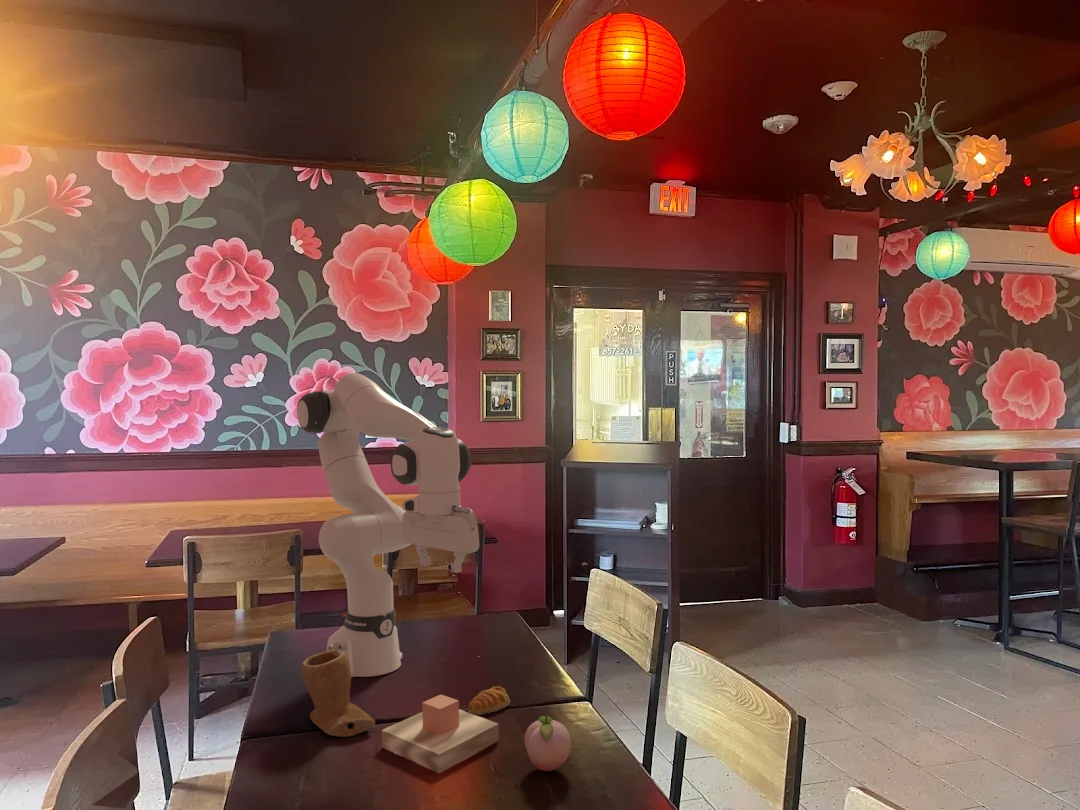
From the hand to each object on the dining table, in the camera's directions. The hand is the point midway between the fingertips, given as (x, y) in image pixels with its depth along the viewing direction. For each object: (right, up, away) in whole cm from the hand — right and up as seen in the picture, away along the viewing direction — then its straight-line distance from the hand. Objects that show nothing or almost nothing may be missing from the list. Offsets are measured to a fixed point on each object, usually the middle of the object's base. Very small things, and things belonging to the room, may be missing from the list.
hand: (440, 568), depth 163 cm
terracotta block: (+2, -28, -13) cm, 31 cm away
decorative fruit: (+23, -32, -24) cm, 46 cm away
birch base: (+2, -32, -13) cm, 35 cm away
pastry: (+10, -31, +4) cm, 33 cm away
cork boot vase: (-21, -32, -5) cm, 38 cm away
